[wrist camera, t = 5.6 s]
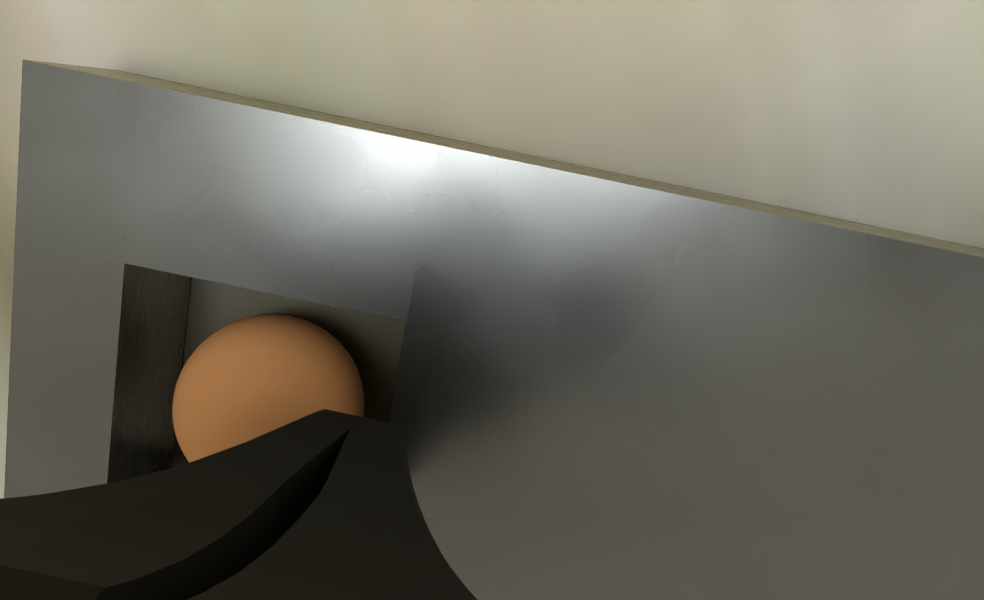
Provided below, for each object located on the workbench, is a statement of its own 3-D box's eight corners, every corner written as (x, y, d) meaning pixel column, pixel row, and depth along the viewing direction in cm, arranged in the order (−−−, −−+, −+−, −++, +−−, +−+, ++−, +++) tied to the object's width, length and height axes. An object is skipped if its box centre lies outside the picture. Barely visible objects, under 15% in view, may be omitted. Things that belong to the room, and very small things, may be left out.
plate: (1100, 273, 13) (1226, 307, 11) (914, 728, 16) (983, 839, 13) (114, 70, 13) (22, 59, 11) (80, 553, 16) (-2, 631, 13)
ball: (136, 309, 12) (268, 282, 15) (121, 490, 13) (250, 431, 15) (302, 367, 11) (409, 327, 14) (275, 562, 11) (382, 484, 14)
